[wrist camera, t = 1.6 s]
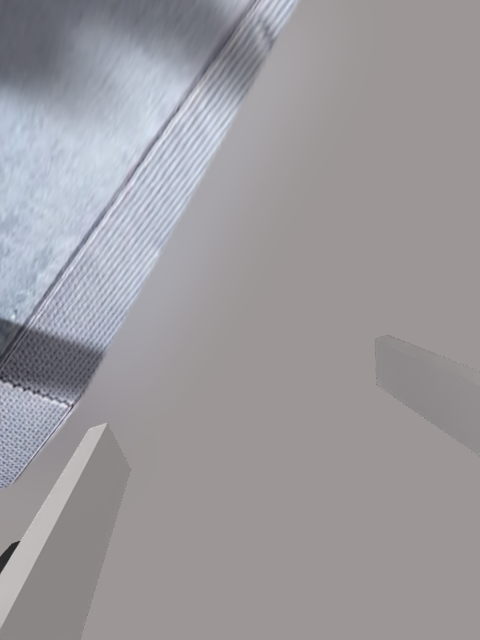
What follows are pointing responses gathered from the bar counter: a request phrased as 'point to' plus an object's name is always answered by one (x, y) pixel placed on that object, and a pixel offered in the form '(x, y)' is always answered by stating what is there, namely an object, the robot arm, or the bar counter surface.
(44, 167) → the bar counter surface
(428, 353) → the robot arm
